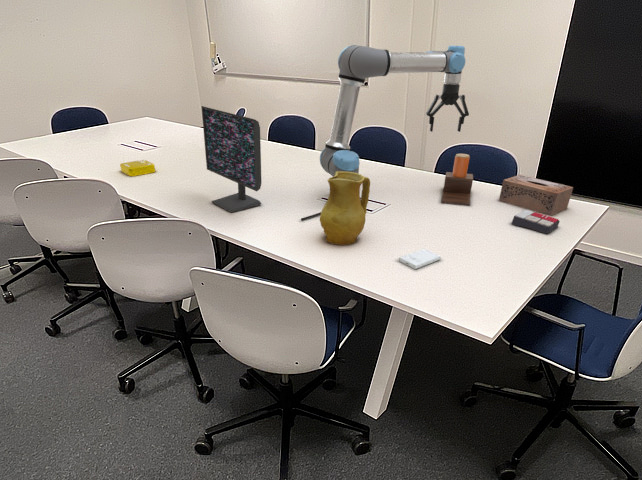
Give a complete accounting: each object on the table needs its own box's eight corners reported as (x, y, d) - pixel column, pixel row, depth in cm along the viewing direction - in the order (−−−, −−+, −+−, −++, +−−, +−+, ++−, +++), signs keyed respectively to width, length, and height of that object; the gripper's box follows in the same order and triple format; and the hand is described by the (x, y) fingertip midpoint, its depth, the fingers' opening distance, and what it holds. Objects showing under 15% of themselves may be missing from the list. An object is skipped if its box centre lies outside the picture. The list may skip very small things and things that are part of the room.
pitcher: (317, 229, 180) (320, 167, 166) (362, 230, 182) (370, 169, 168) (319, 248, 166) (324, 182, 152) (369, 249, 167) (378, 184, 154)
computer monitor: (198, 196, 216) (186, 107, 195) (227, 189, 225) (219, 104, 204) (246, 221, 188) (237, 121, 167) (277, 213, 197) (273, 116, 176)
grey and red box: (550, 225, 176) (514, 214, 184) (546, 235, 178) (511, 223, 187) (560, 218, 182) (525, 208, 191) (557, 228, 185) (522, 217, 193)
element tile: (120, 171, 253) (118, 162, 250) (146, 166, 262) (144, 158, 259) (130, 177, 243) (128, 168, 241) (156, 172, 252) (155, 163, 249)
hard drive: (440, 260, 157) (415, 269, 151) (422, 252, 163) (398, 260, 157) (440, 256, 157) (416, 265, 150) (423, 248, 162) (398, 256, 156)
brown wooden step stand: (469, 205, 206) (473, 187, 202) (441, 203, 209) (443, 185, 205) (469, 190, 226) (473, 174, 221) (443, 188, 229) (446, 171, 224)
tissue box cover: (566, 208, 203) (573, 187, 198) (551, 215, 196) (557, 193, 190) (514, 194, 220) (519, 174, 215) (498, 200, 213) (503, 179, 207)
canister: (466, 177, 215) (470, 157, 210) (451, 176, 217) (455, 156, 212) (466, 174, 221) (470, 153, 216) (452, 173, 223) (455, 152, 217)
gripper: (476, 82, 211) (468, 129, 222) (423, 82, 212) (418, 129, 223) (480, 84, 205) (472, 132, 216) (426, 84, 205) (421, 132, 216)
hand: (444, 131), depth 219 cm, fingers open, 13 cm apart
